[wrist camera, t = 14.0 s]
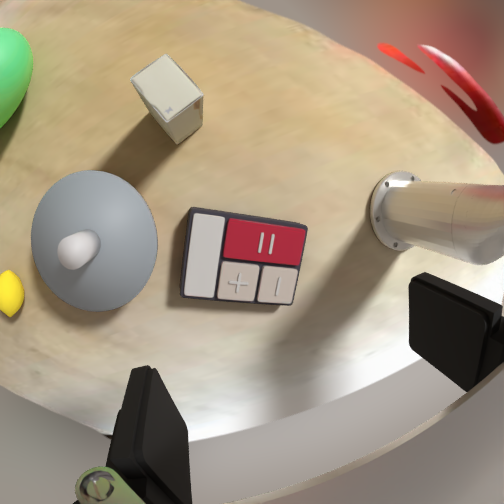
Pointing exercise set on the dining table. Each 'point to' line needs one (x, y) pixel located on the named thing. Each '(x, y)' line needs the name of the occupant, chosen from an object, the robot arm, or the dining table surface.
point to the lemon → (10, 293)
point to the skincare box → (170, 97)
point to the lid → (94, 240)
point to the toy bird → (13, 71)
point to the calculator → (241, 258)
